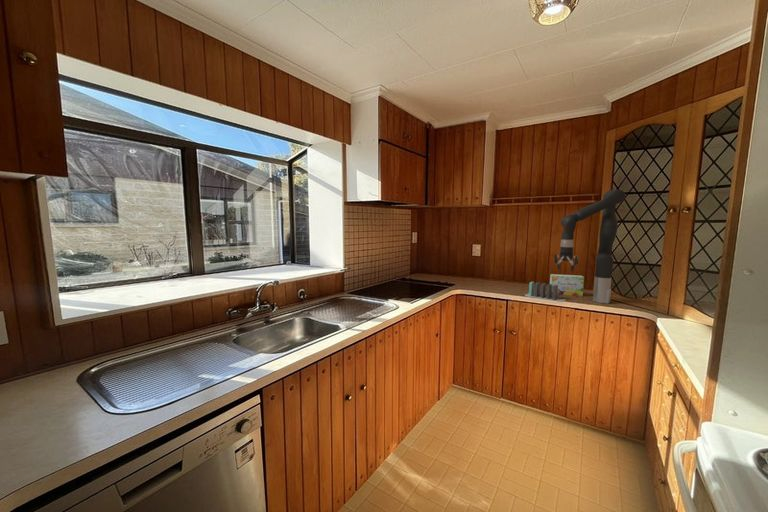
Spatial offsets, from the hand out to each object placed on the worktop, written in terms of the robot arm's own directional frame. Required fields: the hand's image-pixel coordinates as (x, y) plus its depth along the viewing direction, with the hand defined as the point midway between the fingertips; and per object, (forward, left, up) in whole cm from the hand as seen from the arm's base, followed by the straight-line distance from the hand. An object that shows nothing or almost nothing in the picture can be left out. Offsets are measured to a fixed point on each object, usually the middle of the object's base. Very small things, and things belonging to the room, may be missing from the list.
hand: (565, 270), depth 208 cm
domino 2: (+17, 0, -22) cm, 28 cm away
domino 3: (+13, 0, -22) cm, 25 cm away
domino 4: (+9, 0, -22) cm, 23 cm away
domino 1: (+21, 0, -22) cm, 30 cm away
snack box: (+4, -21, -22) cm, 31 cm away
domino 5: (+5, 0, -22) cm, 22 cm away
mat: (+12, 0, -22) cm, 25 cm away
